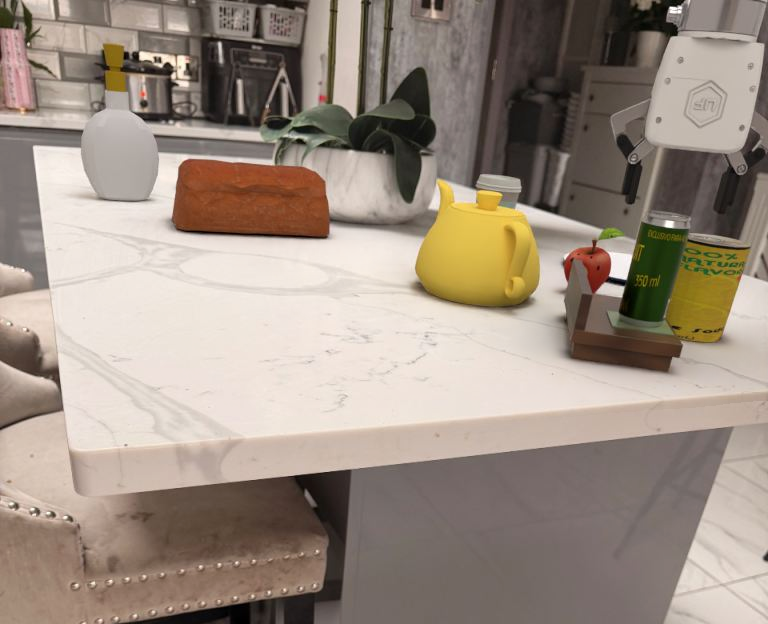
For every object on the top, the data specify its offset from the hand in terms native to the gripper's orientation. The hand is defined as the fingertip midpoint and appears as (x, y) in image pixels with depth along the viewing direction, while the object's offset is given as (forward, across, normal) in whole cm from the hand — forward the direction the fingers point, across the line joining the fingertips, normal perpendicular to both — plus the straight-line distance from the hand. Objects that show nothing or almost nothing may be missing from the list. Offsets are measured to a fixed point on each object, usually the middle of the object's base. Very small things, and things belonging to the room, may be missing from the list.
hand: (673, 207), depth 84 cm
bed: (+16, -3, +3) cm, 17 cm away
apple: (+17, -5, +28) cm, 33 cm away
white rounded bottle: (+15, -93, +56) cm, 109 cm away
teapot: (+16, -22, +20) cm, 34 cm away
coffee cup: (+17, -21, +60) cm, 65 cm away
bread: (+16, -63, +44) cm, 78 cm away
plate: (+17, +5, +51) cm, 54 cm away
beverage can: (+17, +8, +14) cm, 23 cm away
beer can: (+13, -1, 0) cm, 13 cm away
